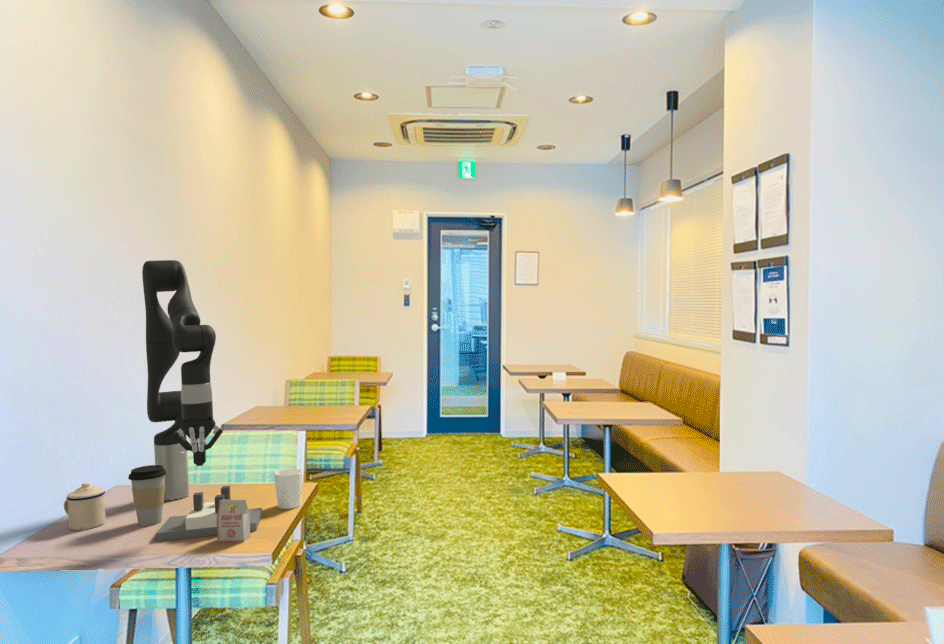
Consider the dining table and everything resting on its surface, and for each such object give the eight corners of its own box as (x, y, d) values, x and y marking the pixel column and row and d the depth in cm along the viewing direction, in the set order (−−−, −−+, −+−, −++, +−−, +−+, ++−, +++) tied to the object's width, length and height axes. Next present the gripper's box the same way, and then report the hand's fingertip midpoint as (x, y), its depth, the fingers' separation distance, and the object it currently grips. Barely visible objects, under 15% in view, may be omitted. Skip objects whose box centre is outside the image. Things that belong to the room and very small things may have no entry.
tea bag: (224, 536, 159) (223, 497, 159) (250, 536, 159) (248, 497, 159) (217, 542, 156) (215, 502, 155) (243, 542, 155) (242, 501, 155)
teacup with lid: (114, 520, 176) (112, 479, 176) (87, 531, 167) (84, 488, 167) (79, 518, 179) (77, 478, 179) (51, 529, 170) (49, 486, 170)
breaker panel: (170, 524, 171) (168, 490, 171) (262, 514, 176) (260, 481, 176) (156, 541, 158) (154, 504, 158) (256, 530, 163) (254, 495, 163)
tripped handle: (195, 507, 167) (195, 492, 167) (203, 507, 167) (203, 492, 167) (193, 510, 165) (193, 495, 165) (201, 509, 165) (201, 494, 165)
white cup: (270, 509, 181) (268, 474, 181) (286, 500, 189) (285, 467, 188) (293, 510, 179) (291, 476, 178) (308, 502, 186) (307, 469, 186)
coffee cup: (176, 517, 176) (174, 464, 176) (150, 529, 167) (148, 473, 167) (148, 516, 179) (146, 463, 178) (122, 527, 170) (119, 472, 169)
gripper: (225, 396, 171) (228, 460, 171) (173, 400, 168) (176, 464, 169) (221, 400, 164) (224, 466, 164) (166, 404, 161) (169, 471, 161)
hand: (199, 465), depth 166 cm, fingers closed
